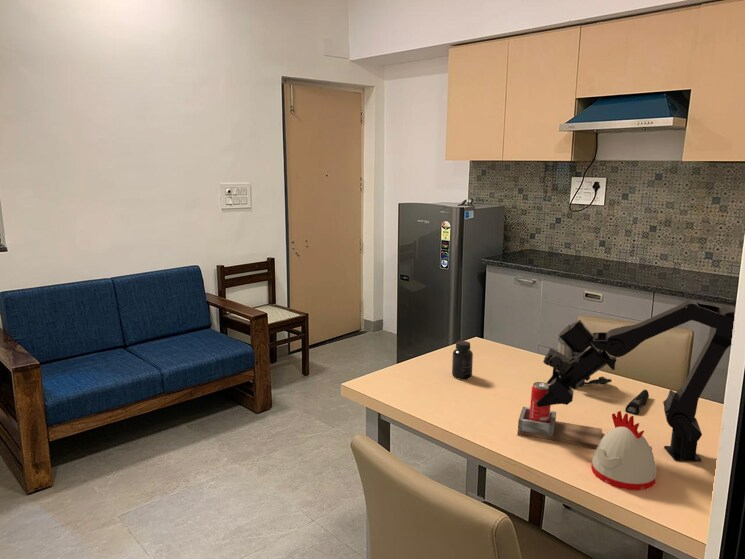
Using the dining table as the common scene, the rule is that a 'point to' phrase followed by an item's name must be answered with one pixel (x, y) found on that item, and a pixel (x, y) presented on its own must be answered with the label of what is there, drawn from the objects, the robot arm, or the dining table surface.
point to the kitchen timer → (624, 457)
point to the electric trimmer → (637, 403)
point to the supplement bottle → (462, 360)
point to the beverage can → (537, 393)
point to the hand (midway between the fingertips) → (539, 398)
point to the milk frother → (569, 354)
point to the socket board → (558, 431)
